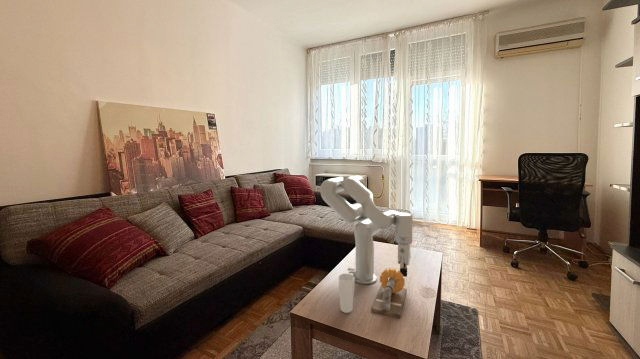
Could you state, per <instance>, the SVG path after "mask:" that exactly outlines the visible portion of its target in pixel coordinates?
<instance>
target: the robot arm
mask: <svg viewBox="0 0 640 359" xmlns="http://www.w3.org/2000/svg"><path fill="white" fill-rule="evenodd" d="M319 189H320V190H319V191H320V196H321V198H322V200H323V201H324V202H325V203H326V204H327V205H328V206H329V207H330V208H331V209H332V210H333V211H334V212H335V213H336V214H337V215H338V216H339V217H340V218H341V219H342V220H343V221H344V222H345V223H347V224H348V225H352V224H354V223H355V226H354V229H353V234H354V241H355V242H354V243H355V267H354V268H352V267H348V268H347V271H348V274H351V275H353V276H354V279H355V283H358V284H361V285H370V284H374V283H376V281H377V274H375V266H374V264H375V244H374V239H373V236H375V235H376V234H377V233H379V232H380V231H381V230H388V229H390V228H392V227H393V226H395V243H396V244H397V263H398V265H399V267H400V268H399V271H400V272H401V273H402V274H403V278H406V277H407V276H408V267H407V266H409V265H410V263H411V257H412V256H411V244H413V215H412V214H411V213H409V212H400V211H397V210H393V209H388V210H385V211H384V212H383V211H381V209H379V208H378V206H377V205H376V204H375V202H374V194H373V192H372V191H370V189H368V188H367V187H366V182H365V180H364V178H363V177H362V176H360V175H346V176H344V175H343V176H337V177H331V178H328V179H326V180H323V182H322V183H321V184H320V188H319ZM340 192H346V193H347V194H348V195H349V196H350V197H351V198H352V199H353V200H355V201H356V202H355V203H350V202H349V201H347V199H346V198H345V197H343V196H341V195H340V194H338V193H340Z"/></svg>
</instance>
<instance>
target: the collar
mask: <svg viewBox="0 0 640 359" xmlns="http://www.w3.org/2000/svg"><path fill="white" fill-rule="evenodd" d="M390 277H393V278H394V279H395V280H396V283H395V284H394V287H393V291H392V293H395V291H397V292H400V291H401V290H402V289H403V288H404V287H405V286H406V285H405V281H406V280H405V279H406V277H404V276H403V274H402V273H401V272H400V270H397V268H394V267H389V268H385V269H384V270H382V271H381V274H380V275H379V283H380V287H381V286H382V287H383V288H384V289H385V287H386V286H387V283H388V280H389V278H390Z"/></svg>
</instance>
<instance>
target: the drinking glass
mask: <svg viewBox="0 0 640 359" xmlns="http://www.w3.org/2000/svg"><path fill="white" fill-rule="evenodd" d="M355 283H356V281H355V279H354V276H353V274H352V273H340V275H339V276H338V294H339V305H340V306H339V309H340V311H341V312H342V313H345V314H350V313H352V312H353V310H354V309H353V308H354V298H355V297H354V295H355V286H356V284H355Z"/></svg>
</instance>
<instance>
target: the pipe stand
mask: <svg viewBox="0 0 640 359" xmlns="http://www.w3.org/2000/svg"><path fill="white" fill-rule="evenodd" d="M395 283H396V280H395V279H394V278H393V277H389V278H388V283H387V286H386V287H385V289H384V288H383V287H382V286H381V285H380V286H379V289H378V292H377V294H376V296H375V298H374V299H373V300H374V301H373V303H372V306H371V308H370V311H371V312H372V313H375V314H381V315H385V316H388V315H389V317H394V318H397V319H401V317H402V312H403V308H404V305H405V304H404V303H405V299H406V296H407V288H404V287H403V289H402V290H401V291H400V292H397V291H395V293H392V291H393V287H394V284H395Z"/></svg>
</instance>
